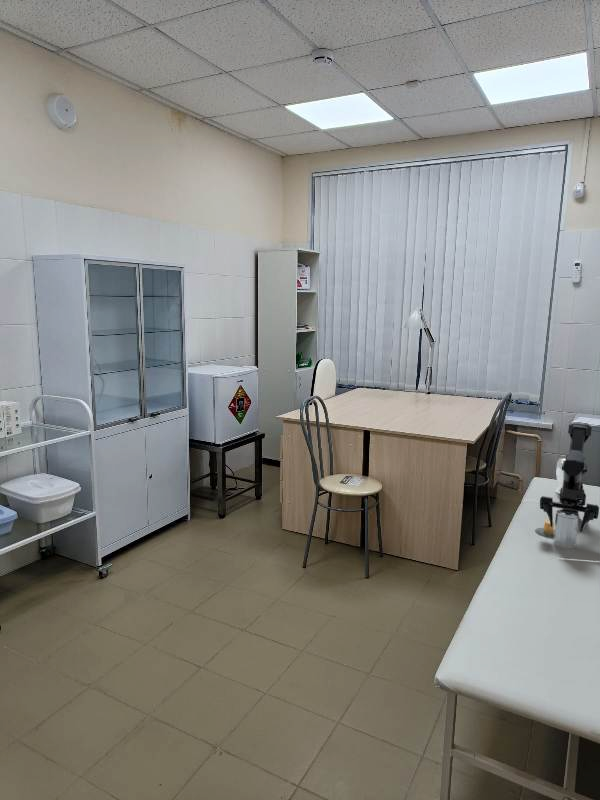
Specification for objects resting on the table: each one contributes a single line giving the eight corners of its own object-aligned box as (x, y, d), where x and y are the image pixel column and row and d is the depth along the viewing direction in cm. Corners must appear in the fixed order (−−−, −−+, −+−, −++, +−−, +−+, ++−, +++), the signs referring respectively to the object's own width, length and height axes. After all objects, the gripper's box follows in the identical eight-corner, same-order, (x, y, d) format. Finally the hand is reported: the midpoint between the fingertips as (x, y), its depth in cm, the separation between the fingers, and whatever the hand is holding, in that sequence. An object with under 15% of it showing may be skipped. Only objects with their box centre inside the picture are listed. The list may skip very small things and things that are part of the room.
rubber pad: (532, 528, 209) (532, 526, 209) (557, 530, 207) (557, 528, 207) (538, 538, 200) (538, 537, 200) (564, 540, 199) (564, 538, 198)
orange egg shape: (542, 530, 205) (543, 520, 205) (551, 531, 205) (552, 521, 204) (544, 534, 202) (545, 524, 201) (554, 534, 202) (555, 524, 201)
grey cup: (550, 540, 198) (554, 508, 196) (571, 541, 197) (575, 510, 195) (556, 549, 192) (560, 516, 189) (578, 550, 191) (581, 517, 188)
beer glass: (567, 490, 250) (571, 458, 248) (573, 495, 244) (577, 463, 241) (551, 489, 251) (554, 457, 248) (557, 494, 244) (560, 462, 242)
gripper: (542, 474, 198) (536, 514, 190) (601, 483, 189) (597, 525, 182) (543, 489, 206) (537, 527, 199) (599, 498, 197) (595, 538, 190)
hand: (565, 529), depth 192 cm, fingers open, 9 cm apart
